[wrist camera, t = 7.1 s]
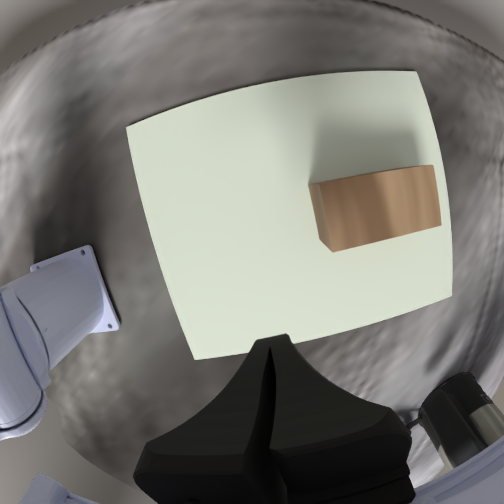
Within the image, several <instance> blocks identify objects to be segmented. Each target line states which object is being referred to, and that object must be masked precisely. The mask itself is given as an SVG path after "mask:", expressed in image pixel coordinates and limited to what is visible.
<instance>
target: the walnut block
mask: <svg viewBox="0 0 504 504" xmlns="http://www.w3.org/2000/svg"><path fill="white" fill-rule="evenodd" d="M308 188H309V192H310V197H311V201H312V206H313V211H314V215H315V220H316V225H317V230H318V235H319V240H320V241H321V242H322V243H323V244H324V245H325V246H326V247H327V248H328V249H329V250H330V251H331V252H332V253H333V252H337V251H342V250H346V249H350V248H354V247H358V246H362V245H366V244H371V243H375V242H379V241H383V240H387V239H391V238H395V237H399V236H403V235H407V234H411V233H414V232H418V231H422V230H426V229H430V228H434V227H438V226H441V225H442V223H441V213H440V204H439V196H438V189H437V183H436V177H435V171H434V166H433V165H421V166H410V167H401V168H395V169H389V170H382V171H376V172H371V173H365V174H359V175H354V176H348V177H343V178H338V179H332V180H327V181H322V182H317V183H313V184H308Z"/></svg>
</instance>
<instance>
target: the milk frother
mask: <svg viewBox="0 0 504 504" xmlns="http://www.w3.org/2000/svg"><path fill="white" fill-rule="evenodd" d="M418 423H419V425H420V426H422V427H423V428H424V429H425V431H426V432H427V434H428V436H429V437H430V439H431V441H432V442H433V444H434V446H435V447H436V449H437V451H438V453H439V455H440V457H441V459H442V461H443V463H444V465H445V467H446V469H447V471H448V472H449V471H451V470H453V469H454V468H456V467H458V466H460V465H461V464H463V463H465V462H466V461H468V460H469V459H471V458H473V457H474V456H476V455H477V454H479V453H480V452H482V451H483V450H485V449H486V448H487V447H489V446H490V445H492V444H493V443H494V442H496V441H497V440H498V439H500V438H501V437H502V436H504V415H503V414H502V412H501V411H500V410H499V409H498V408H497V406H496V405H495V404H494V403H493V401H492V400H491V399H490V398H489V397H488V396H487V395H486V393H485V392H484V391H483V390H482V388H481V386H480V385H479V384H478V382H477V381H476V380H475V377H474V376H473V375H472V374H471V373H462V374H459V375H456V376H455V377H453V378H451V379H449V380H448V381H446V382H445V383H444V384H443V385H441V386H440V387H439V388H438V389H436V390H435V391H434V392H433V393H432V394H431V395H429V396H428V397H427V398H426V399H425V401H424V402H423V403H422V406H421V410H420V411H419V414H418V418H417V419H416V420H414V421H412V422H411V423H409V424H408V425H407V426H406V428H407V429H408V431H409V433H410V435H411V431H410V429H411V428H412V427H413V426H415V425H416V424H418Z"/></svg>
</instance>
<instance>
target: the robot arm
mask: <svg viewBox="0 0 504 504" xmlns="http://www.w3.org/2000/svg"><path fill="white" fill-rule="evenodd" d="M83 250H84V251H85V254H84V253H83ZM110 324H111V325H112V326H110ZM119 328H120V322H119V320H118V318H117V315H116V313H115V310H114V308H113V305H112V303H111V300H110V298H109V295H108V292H107V290H106V287H105V284H104V281H103V279H102V276H101V273H100V270H99V267H98V264H97V261H96V258H95V254H94V251H93V248H92V247H91V246H90V245H86V246H83V247H80V248H77V249H74V250H71V251H69V252H66V253H63V254H60V255H58V256H55V257H52V258H49V259H47V260H44V261H42V262H39V263H36V264H34V265H32V266H31V273H29V274H27V275H24V276H22V277H20V278H18V279H16V280H14V281H12V282H10V283H8V284H6V285H4V286H2V287H0V441H1V440H4V439H7V438H11V437H18V436H22V435H24V434H26V433H28V432H30V431H31V430H33V429H34V428H35V427H36V426H37V425H38V424H39V422H40V421H41V419H42V417H43V415H44V413H45V411H46V408H47V402H48V401H47V396H46V393H45V391H44V389H45V388H46V387H47V386H48V385H49V384H50V383H51V380H50V377H49V375H48V372H49V371H50V370H51V369H52V368H53V367H54V366H55V365H56V364H57V363H58V362H59V361H60V360H61V359H62V358H64V357H65V356H66V355H67V354H68V353H69V352H70V351H71V350H72V349H73V348H74V347H75V346H76V345H77V344H78V343H79V342H80V341H81V340H82V339H83V338H84V337H86V336H87V335H88V334H89V333H97V332H106V331H114V330H118V329H119ZM411 445H412V437H411V435H410V433H409V431H408V429H407V428H406V426H405V425H404V423H403V422H402V421H401V419H400V418H399V417H398V416H397V415H396V413H395V412H394V411H393V410H392V409H391V408H389V407H386V406H382V405H379V404H375V403H372V402H369V401H366V400H364V399H361V398H359V397H356V396H354V395H353V394H351V393H349V392H347V391H345V390H343V389H341V388H340V387H338V386H336V385H335V384H333V383H332V382H330V381H329V380H328V379H326V378H325V377H324V376H322V375H321V374H320V373H319V372H318V371H316V370H315V369H314V368H313V367H312V366H311V365H310V364H309V363H308V362H307V361H306V360H305V359H304V357H303V356H302V355H301V354H300V353H299V352H298V350H297V349H296V347H295V346H294V345H293V343H292V341H291V339H290V336H289V335H288V334H286V333H285V334H281V335H276V336H271V337H267V338H262V339H257V340H256V341H255V342H254V344H253V346H252V348H251V349H250V351H249V353H248V355H247V356H246V358H245V360H244V361H243V363H242V365H241V366H240V368H239V369H238V371H237V372H236V374H235V375H234V376H233V378H232V379H231V380H230V382H229V383H228V384H227V386H226V387H225V388H224V389H223V390H222V391H221V392H220V393H219V394H218V395H217V396H216V398H215V399H213V400H212V401H211V402H210V403H209V404H208V405H207V406H205V407H204V408H203V409H202V410H201V411H200V412H198V413H197V414H196V415H195V416H193V417H192V418H190V419H189V420H187V421H186V422H184V423H183V424H181V425H180V426H178V427H177V428H175V429H173V430H171V431H170V432H168V433H166V434H164V435H162V436H160V437H157V438H155V439H153V440H151V441H149V442H147V443H146V445H145V447H144V449H143V451H142V454H141V456H140V459H139V461H138V464H137V466H136V469H135V471H134V474H133V478H134V481H135V483H136V484H137V485H138V486H139V488H140V489H141V490H142V491H144V492H145V493H146V494H147V495H148V496H149V497H151V498H152V499H153V500H154V501H156V502H157V503H158V504H504V436H502V437H501V438H500V439H498V440H497V441H496V442H494V443H493V444H492V445H490V446H489V447H487V448H486V449H485V450H483V451H482V452H480V453H479V454H477V455H476V456H474V457H473V458H471V459H469V460H468V461H466V462H465V463H463V464H461V465H460V466H458V467H456V468H454V469H453V470H451V471H449V472H447V473H445V474H444V475H442V476H440V477H438V478H436V479H434V480H432V481H430V482H428V483H426V484H423V485H421V486H419V487H417V488H415V489H414V488H413V486H412V483H411V480H410V478H409V476H408V475H410V470H409V467H408V465H407V463H406V461H407V458H408V455H409V452H410V449H411ZM19 504H99V503H96V502H93V501H90V500H88V499H85V498H82V497H79V496H77V495H75V494H72V493H70V492H69V491H68V490H67V489H66V488H65V487H63V486H62V485H61V484H60V483H58V482H57V481H55V480H54V479H52V478H50V477H47V476H45V475H43V474H41V473H37V475H36V477H35V478H34V480H33V481H32V483H31V484H30V486H29V488H28V489H27V491H26V493H25V494H24V496H23V498H22V499H21V501H20V503H19Z"/></svg>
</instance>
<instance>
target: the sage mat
mask: <svg viewBox="0 0 504 504" xmlns="http://www.w3.org/2000/svg"><path fill="white" fill-rule="evenodd" d="M126 130H127V135H128V141H129V146H130V151H131V156H132V161H133V165H134V170H135V174H136V179H137V183H138V187H139V191H140V196H141V200H142V203H143V207H144V211H145V215H146V219H147V222H148V226H149V230H150V233H151V237H152V240H153V243H154V247H155V250H156V253H157V257H158V260H159V263H160V266H161V269H162V272H163V275H164V279H165V282H166V284H167V287H168V290H169V293H170V296H171V299H172V302H173V305H174V307H175V310H176V313H177V316H178V318H179V321H180V324H181V326H182V329H183V331H184V334H185V337H186V339H187V342H188V344H189V347H190V349H191V351H192V354H193V356H194V359H195V360H199V359H207V358H214V357H221V356H228V355H235V354H241V353H247V352H249V351H250V349H251V348H252V346H253V344H254V342H255V341H256V340H257V339H262V338H267V337H271V336H276V335H281V334H285V333H286V334H288V335H289V336H290V339H291V341H292V343H293V344H294V343H299V342H303V341H308V340H312V339H316V338H320V337H325V336H329V335H333V334H336V333H340V332H344V331H348V330H351V329H355V328H359V327H362V326H366V325H369V324H372V323H376V322H379V321H382V320H385V319H389V318H392V317H395V316H398V315H401V314H404V313H407V312H410V311H413V310H415V309H418V308H421V307H424V306H427V305H429V304H432V303H435V302H437V301H440V300H442V299H445V298H447V297H450V296H452V236H451V221H450V211H449V202H448V194H447V187H446V180H445V174H444V168H443V163H442V158H441V153H440V148H439V144H438V140H437V136H436V132H435V128H434V124H433V120H432V117H431V113H430V110H429V107H428V103H427V100H426V97H425V94H424V91H423V88H422V86H421V83H420V80H419V77H418V75H417V72H413V71H360V72H343V73H331V74H322V75H313V76H305V77H298V78H292V79H286V80H280V81H274V82H269V83H264V84H259V85H255V86H250V87H246V88H241V89H237V90H233V91H229V92H226V93H222V94H218V95H215V96H211V97H208V98H204V99H201V100H198V101H195V102H192V103H188V104H185V105H182V106H180V107H177V108H174V109H171V110H168V111H165V112H163V113H160V114H157V115H155V116H152V117H150V118H147V119H145V120H142V121H140V122H138V123H135V124H133V125H131V126H128V127H126ZM421 165H433V166H434V171H435V177H436V183H437V189H438V196H439V204H440V213H441V223H442V225H441V226H438V227H434V228H430V229H426V230H422V231H418V232H414V233H411V234H407V235H403V236H399V237H395V238H391V239H387V240H383V241H379V242H375V243H371V244H366V245H362V246H358V247H354V248H350V249H346V250H342V251H337V252H333V253H332V252H331V251H330V250H329V249H328V248H327V247H326V246H325V245H324V244H323V243H322V242H321V241H320V240H319V235H318V230H317V225H316V220H315V215H314V211H313V206H312V201H311V197H310V192H309V188H308V184H313V183H317V182H322V181H327V180H332V179H338V178H343V177H348V176H354V175H359V174H365V173H371V172H376V171H382V170H389V169H395V168H401V167H410V166H421Z"/></svg>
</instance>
